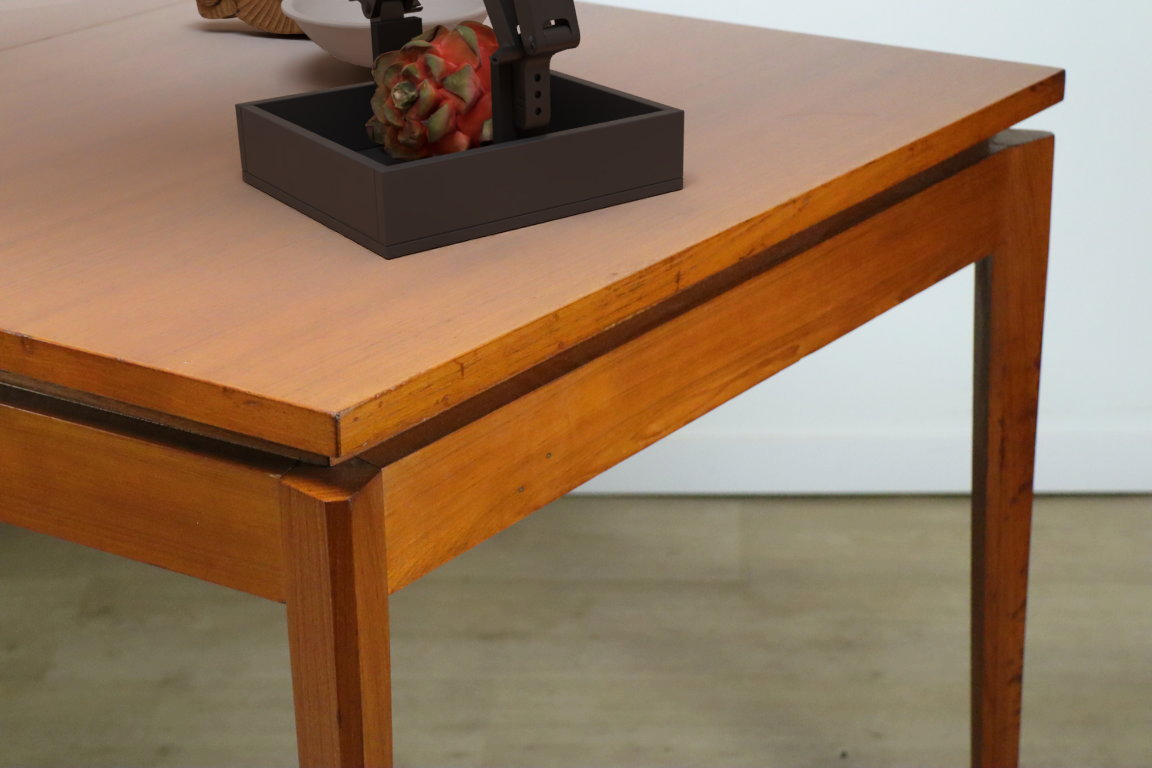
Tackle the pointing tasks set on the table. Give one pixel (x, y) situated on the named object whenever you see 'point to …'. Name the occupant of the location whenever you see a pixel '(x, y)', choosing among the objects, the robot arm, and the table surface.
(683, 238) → the table surface
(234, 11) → the wooden carving
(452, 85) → the dragon fruit
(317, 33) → the dish
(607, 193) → the tray
